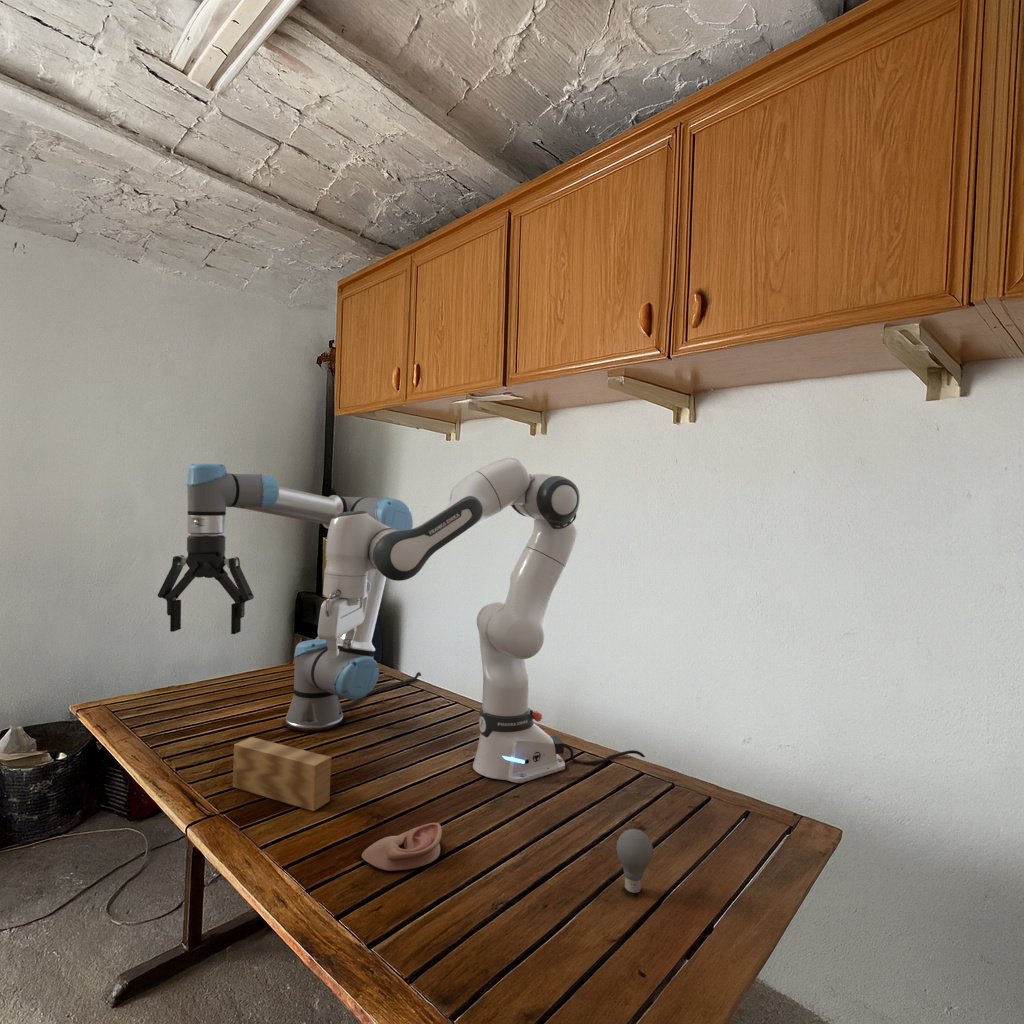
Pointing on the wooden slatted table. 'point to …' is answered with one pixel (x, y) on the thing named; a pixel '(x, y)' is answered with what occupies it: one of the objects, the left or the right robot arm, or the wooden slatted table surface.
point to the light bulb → (634, 857)
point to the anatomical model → (406, 849)
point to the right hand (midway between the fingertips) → (340, 652)
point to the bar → (282, 773)
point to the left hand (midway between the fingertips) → (205, 631)
